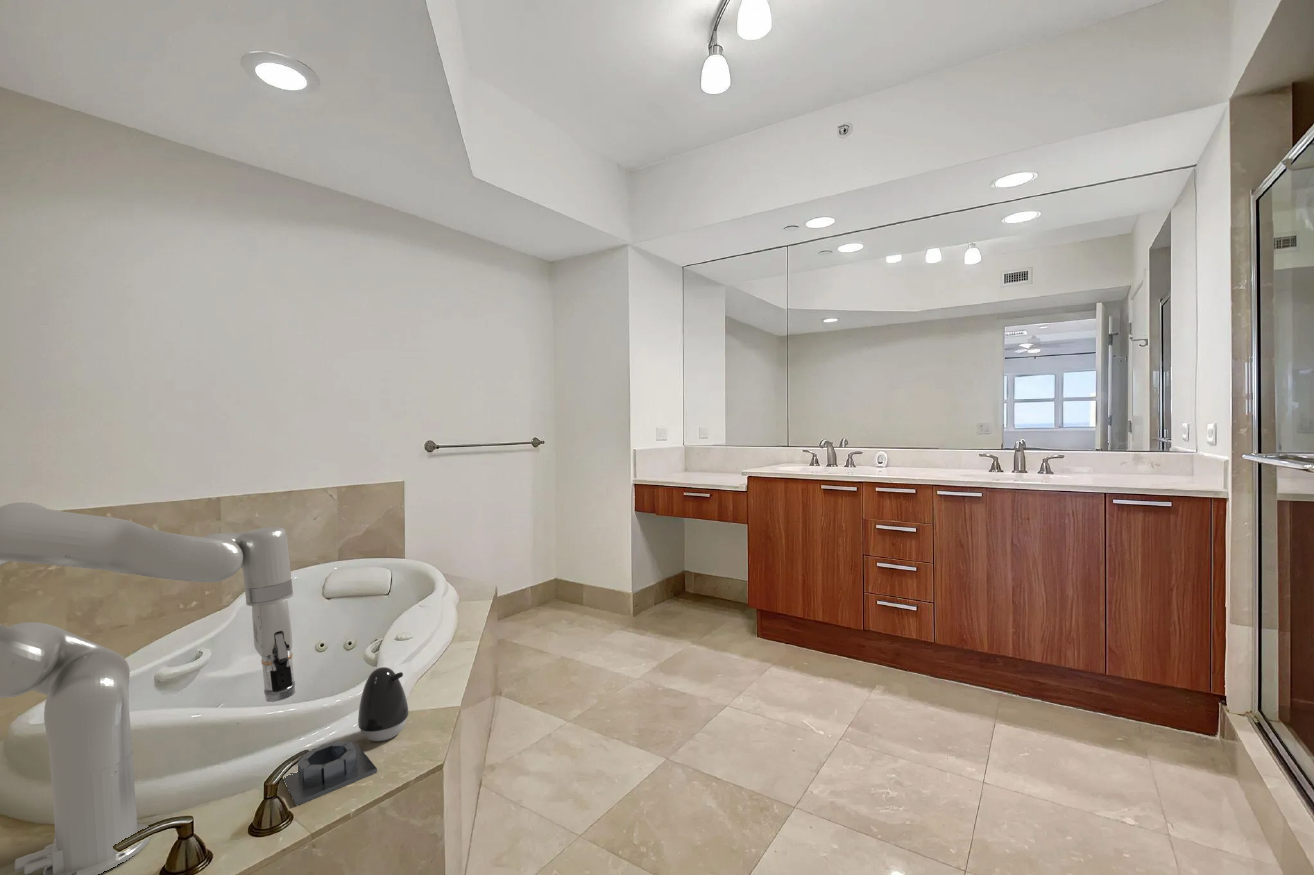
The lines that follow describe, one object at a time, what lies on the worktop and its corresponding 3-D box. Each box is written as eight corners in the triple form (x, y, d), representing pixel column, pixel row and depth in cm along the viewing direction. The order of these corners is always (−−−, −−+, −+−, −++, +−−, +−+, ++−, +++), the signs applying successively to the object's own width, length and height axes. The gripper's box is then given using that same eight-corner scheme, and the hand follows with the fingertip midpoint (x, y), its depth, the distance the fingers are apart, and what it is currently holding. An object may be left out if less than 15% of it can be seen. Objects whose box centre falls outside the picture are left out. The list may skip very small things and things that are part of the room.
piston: (267, 704, 108) (263, 657, 107) (262, 696, 111) (258, 651, 111) (298, 694, 111) (294, 649, 111) (292, 687, 115) (288, 642, 114)
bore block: (295, 806, 105) (294, 785, 105) (280, 775, 115) (279, 756, 115) (377, 772, 114) (375, 753, 114) (356, 746, 125) (355, 728, 125)
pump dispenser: (390, 749, 123) (386, 679, 122) (348, 746, 125) (344, 677, 124) (419, 724, 133) (415, 659, 132) (380, 722, 135) (376, 658, 134)
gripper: (238, 589, 114) (248, 679, 115) (254, 606, 102) (264, 706, 102) (282, 580, 119) (291, 666, 120) (302, 594, 107) (312, 689, 108)
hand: (279, 683), depth 111 cm, fingers closed on piston, 4 cm apart
